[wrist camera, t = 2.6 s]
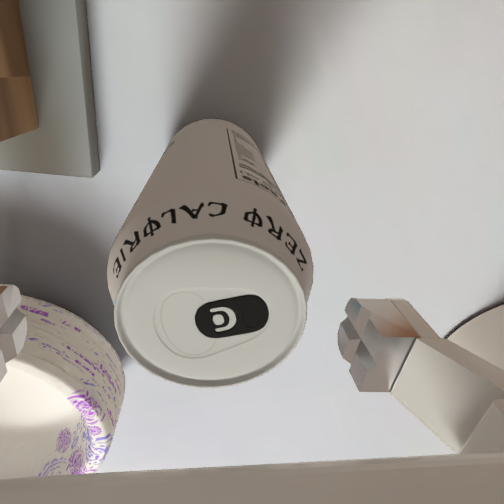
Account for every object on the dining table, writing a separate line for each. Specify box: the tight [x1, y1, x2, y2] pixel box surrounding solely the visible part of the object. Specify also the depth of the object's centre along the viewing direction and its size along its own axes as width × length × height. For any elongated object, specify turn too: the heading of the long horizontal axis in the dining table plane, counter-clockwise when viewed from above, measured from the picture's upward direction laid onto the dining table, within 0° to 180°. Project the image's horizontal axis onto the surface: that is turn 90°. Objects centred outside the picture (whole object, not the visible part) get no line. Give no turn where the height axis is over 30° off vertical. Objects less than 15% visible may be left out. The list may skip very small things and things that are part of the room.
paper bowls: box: [0, 295, 125, 478], centre depth 24 cm, size 15×15×8 cm
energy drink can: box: [107, 119, 313, 388], centre depth 15 cm, size 6×6×15 cm
